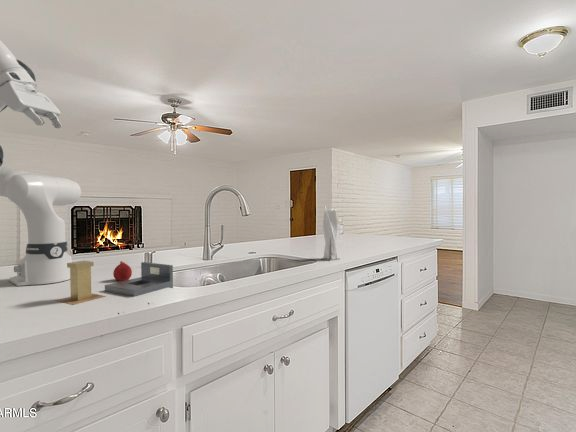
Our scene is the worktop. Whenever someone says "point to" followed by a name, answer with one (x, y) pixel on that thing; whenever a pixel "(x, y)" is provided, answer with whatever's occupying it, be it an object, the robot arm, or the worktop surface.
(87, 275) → the tan wooden upright block
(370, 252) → the worktop surface
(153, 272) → the tray
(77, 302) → the brown square coaster
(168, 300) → the worktop surface
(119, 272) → the onion
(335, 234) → the skyscraper
